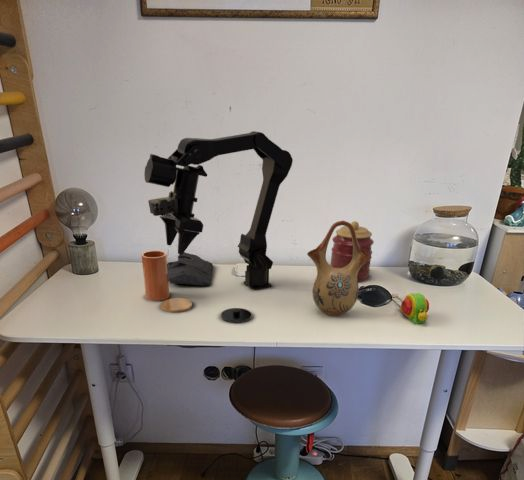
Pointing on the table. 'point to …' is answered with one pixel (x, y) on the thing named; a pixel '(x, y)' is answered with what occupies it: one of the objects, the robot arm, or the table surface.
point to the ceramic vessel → (337, 276)
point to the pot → (155, 275)
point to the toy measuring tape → (413, 307)
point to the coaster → (176, 305)
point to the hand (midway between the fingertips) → (174, 249)
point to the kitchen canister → (351, 248)
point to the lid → (236, 315)
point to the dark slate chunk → (190, 270)
